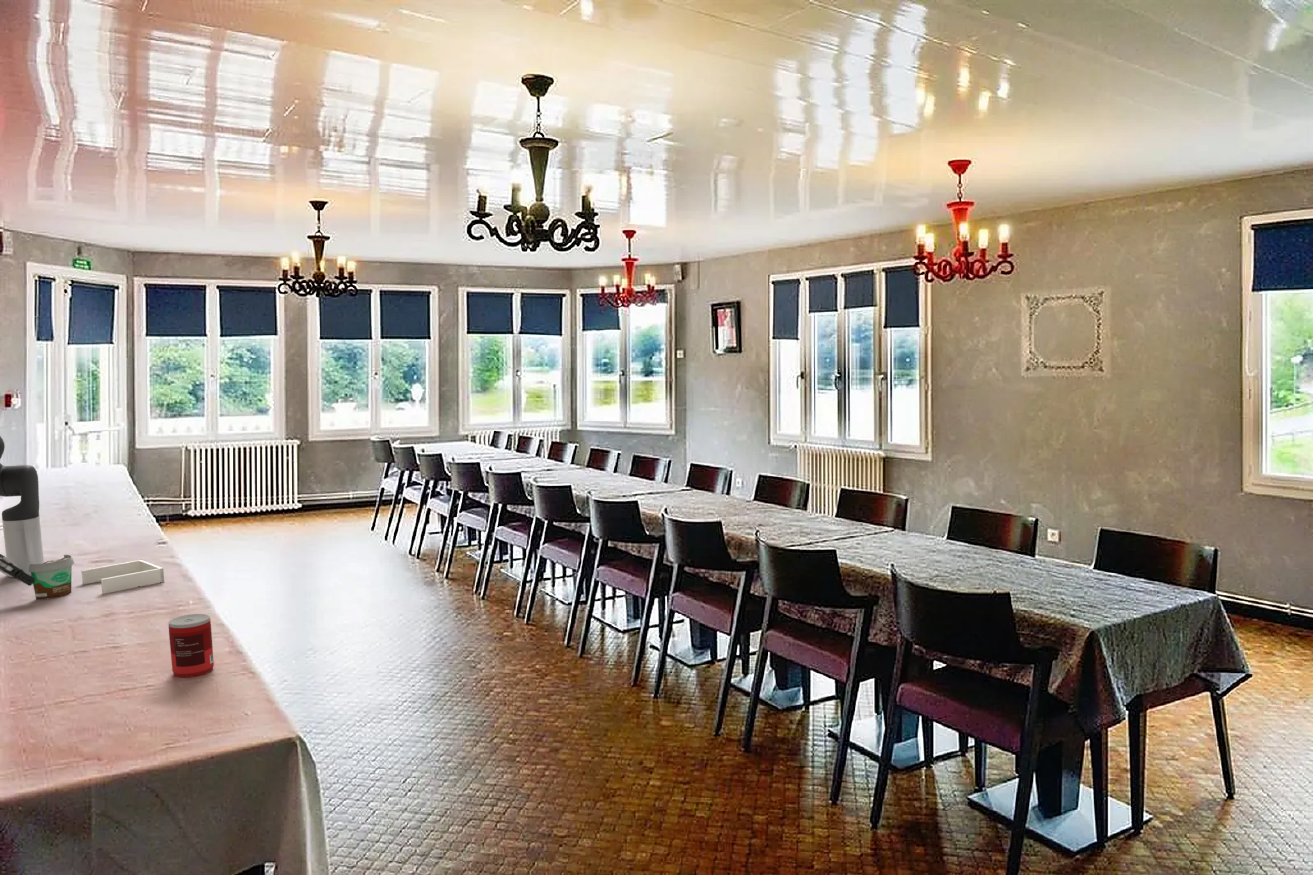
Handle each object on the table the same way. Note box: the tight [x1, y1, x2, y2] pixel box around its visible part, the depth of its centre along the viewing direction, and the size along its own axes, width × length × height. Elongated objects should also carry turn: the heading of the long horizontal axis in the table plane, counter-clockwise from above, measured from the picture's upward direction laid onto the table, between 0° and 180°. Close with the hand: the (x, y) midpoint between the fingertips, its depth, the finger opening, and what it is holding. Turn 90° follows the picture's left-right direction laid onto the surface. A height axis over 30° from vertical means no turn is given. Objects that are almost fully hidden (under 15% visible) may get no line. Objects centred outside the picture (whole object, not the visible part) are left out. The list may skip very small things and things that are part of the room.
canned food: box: [168, 613, 215, 679], centre depth 187 cm, size 8×8×11 cm
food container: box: [29, 554, 75, 601], centre depth 251 cm, size 12×6×10 cm, turn 168°
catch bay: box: [81, 559, 165, 595], centre depth 263 cm, size 18×16×4 cm
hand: (32, 582), depth 246 cm, fingers closed
